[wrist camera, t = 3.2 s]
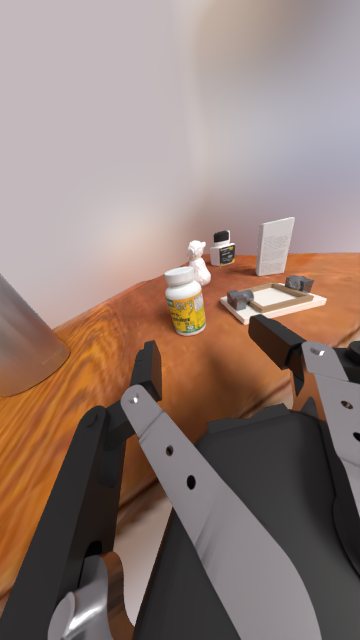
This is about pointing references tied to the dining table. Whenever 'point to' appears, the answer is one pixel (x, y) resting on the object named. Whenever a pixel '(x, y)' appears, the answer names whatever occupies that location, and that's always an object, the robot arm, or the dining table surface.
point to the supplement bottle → (185, 301)
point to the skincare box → (273, 246)
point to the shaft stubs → (244, 297)
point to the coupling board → (275, 302)
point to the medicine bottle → (222, 249)
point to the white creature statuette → (198, 263)
